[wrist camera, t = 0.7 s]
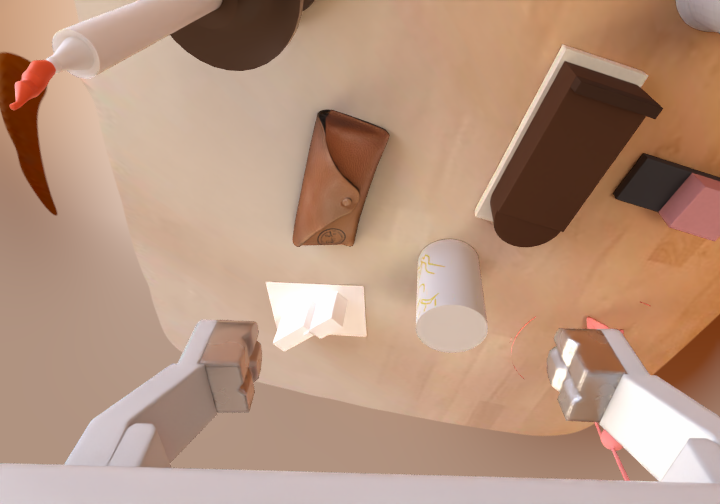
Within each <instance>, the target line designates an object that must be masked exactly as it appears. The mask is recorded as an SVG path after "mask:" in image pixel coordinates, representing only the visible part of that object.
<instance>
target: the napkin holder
mask: <svg viewBox="0 0 720 504" xmlns="http://www.w3.org/2000/svg"><path fill="white" fill-rule="evenodd" d="M266 286H267V290H268V294H269V298H270V302H271V306H272V310H273V314H274V318H275V323H276V327H277V332H276V335H275V338H274V341H273V344H274V345H276V346H277V347H278V348H280V349H281V350H282V351H286V350H288V349H290V348H292V347H294V346H295V345H297V344H299V343H301V342H303V341H305V340H306V339H308V338H310V337H312V336H314V335H316V336H317V337H318V338H319V339H322V338H323V337H325V336H327V335H343V336H360V337H367V333H366V317H365V301H364V286H349V285H326V284H304V283H282V282H266Z"/></svg>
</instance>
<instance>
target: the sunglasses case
mask: <svg viewBox="0 0 720 504" xmlns="http://www.w3.org/2000/svg"><path fill="white" fill-rule="evenodd" d="M389 136H390V135H389V134H388V132H387V131H386V130H385V129H383V128H381V127H378V126H376V125H373V124H371V123H368V122H366V121H363V120H360V119H357V118H354V117H352V116H349V115H346V114H343V113H340V112H337V111H334V110H322V111H320V112H319V113H318V114H317V119H316V123H315V127H314V131H313V136H312V140H311V145H310V149H309V154H308V159H307V164H306V169H305V174H304V179H303V184H302V189H301V194H300V199H299V204H298V209H297V214H296V220H295V225H294V233H293V243H294V245H295V246H297V247H300V246H301V245H338V244H339V245H340V244H342V245H346V246H353V244H354V241H355V236H356V232H357V227H358V223H359V219H360V215H361V212H362V209H363V206H364V203H365V199H366V197H367V194H368V191H369V188H370V185H371V182H372V179H373V176H374V173H375V171H376V168H377V165H378V163H379V161H380V158H381V156H382V153H383V151H384V149H385V146H386V144H387V141H388V139H389Z"/></svg>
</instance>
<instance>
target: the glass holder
mask: <svg viewBox="0 0 720 504" xmlns="http://www.w3.org/2000/svg"><path fill="white" fill-rule="evenodd" d="M676 6H677V10H678V12H679V15H680V17H681V18H682V19H683V20H684V22H685V23H686V24H688V25H689V26H690V27H692V28H695V29H697V30H701V31H706V32H717V33H719V34H720V0H676Z"/></svg>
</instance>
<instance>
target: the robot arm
mask: <svg viewBox="0 0 720 504" xmlns="http://www.w3.org/2000/svg"><path fill="white" fill-rule="evenodd" d="M258 333H259V330H258V325H257V323H256V322H254V321H232V320H203V319H201V320H200V321H199V322H198V323H197V324H196V327H195V329H194V331H193V333H192V335H191V337H190V339H189V341H188V343H187V345H186V347H185V349H184V351H183V353H182V355H181V357H180V360H179V362H178V364H171V365H169V366H168V367H167V368H165V369H164V370H162V371H161V372H159V373H158V374H157V375H155V376H154V377H152V378H151V379H150V380H148V381H147V382H145V383H144V384H142V385H141V386H140V387H138V388H137V389H135V390H134V391H132V392H131V393H130V394H128V395H127V396H125V397H124V398H122V399H121V400H120V401H118V402H117V403H116V404H114V405H113V406H111V407H110V408H108V409H107V410H105V411H104V412H103V413H101V414H100V415H98V416H97V417H95V418H94V419H93V420H92V421H91V422H90V423H89V425H88V427H87V428H86V430H85V432H84V433H83V435H82V437H81V438H80V440H79V441H78V443H77V445H76V446H75V448H74V449H73V451H72V453H71V455H70V456H69V458H68V459H67V461H66V463H65V464H64V465H51V464H49V465H48V464H14V463H13V464H12V463H0V504H720V416H718V415H717V414H715V413H714V412H712V411H711V410H709V409H707V408H706V407H704V406H703V405H701V404H700V403H698V402H697V401H695V400H693V399H692V398H690V397H689V396H687V395H686V394H684V393H683V392H681V391H679V390H678V389H676V388H675V387H673V386H672V385H670V384H668V383H667V382H665V381H664V380H662V379H661V378H659V377H658V376H656V375H650V374H649V373H648V371H647V370H646V368H645V367H644V365H643V364H642V362H641V361H640V359H639V358H638V356H637V355H636V353H635V352H634V350H633V349H632V347H631V346H630V344H629V343H628V342H627V340H626V339H625V337H624V336H623V334H622V333H621V331H619V330H618V329H564V328H559V329H558V331H557V332H556V334H555V336H554V341H555V343H556V347H554V348H553V349H552V350H550V351H549V355H548V358H547V373H548V378H549V380H550V383H551V385H552V386H553V387H554V388H555V389H556V390H558V391H559V392H560V394H559V396H558V399H557V400H558V402H559V405H560V407H561V409H562V412H563V414H564V416H565V419H566V421H582V422H600V423H599V424H600V425H601V426H602V427H603V428H604V429H605V430H606V431H607V432H608V433H609V434H610V435H611V436H612V437H613V438H614V439H615V440H616V441H617V442H619V443H620V444H621V445H622V446H623V447H624V448H625V449H626V450H627V451H628V452H629V453H630V454H631V455H632V456H633V457H634V458H635V459H636V460H637V461H638V462H639V463H641V464H642V465H643V466H644V467H645V468H646V469H647V470H648V471H649V472H650V473H651V474H652V475H653V476H654V477H655V478H656V479H657V480H658V481H659V482H656V481H655V482H654V481H620V480H586V479H550V478H514V477H477V476H442V475H407V474H371V473H337V472H300V471H266V470H263V471H262V470H230V469H228V470H227V469H195V468H171V465H170V463H171V462H172V461H173V460H174V459H175V458H176V457H177V455H179V453H180V452H181V451H182V450H183V449H184V448H185V447H186V446H187V445H188V444H189V443H190V442H191V441H192V440H193V439H194V438H195V437H196V436H197V435H198V434H199V433H200V431H202V429H203V428H204V427H205V426H206V425H207V424H208V423H209V422H210V421H211V420H212V419H213V418H214V417H215V416H216V415H217V412H249V411H250V407H251V404H252V400H253V396H254V393H255V390H254V384H253V383H254V382H255V381H256V380H257V379H258V378H259V374H260V370H261V362H262V350H261V344H260V343H259V342H258V341H257V337H258Z"/></svg>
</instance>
